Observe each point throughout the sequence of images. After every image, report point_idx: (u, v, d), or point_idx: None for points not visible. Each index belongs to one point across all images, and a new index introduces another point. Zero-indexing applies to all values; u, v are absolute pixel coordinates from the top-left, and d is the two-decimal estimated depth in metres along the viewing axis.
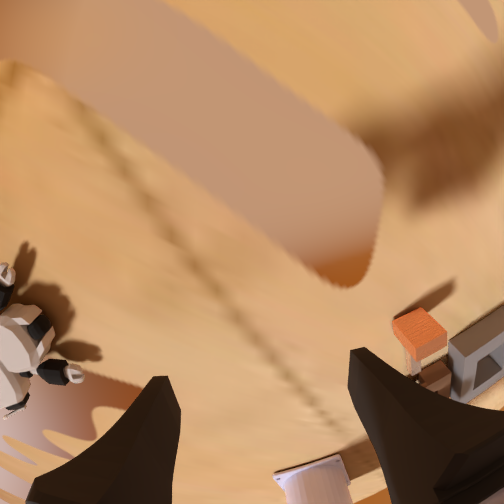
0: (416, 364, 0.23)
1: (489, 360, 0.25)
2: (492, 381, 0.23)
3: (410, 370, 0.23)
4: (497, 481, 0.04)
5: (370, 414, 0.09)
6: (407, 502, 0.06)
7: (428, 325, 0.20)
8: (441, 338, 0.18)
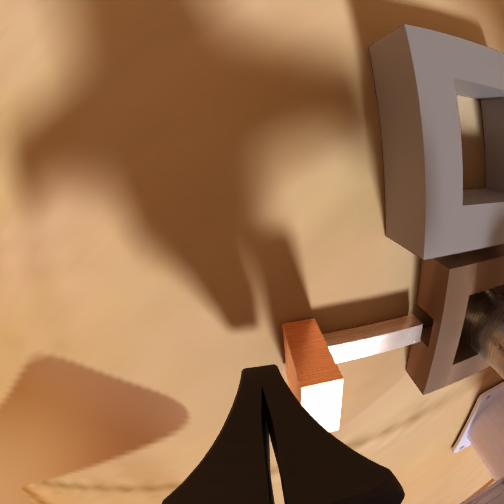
0: (399, 339, 0.12)
1: (491, 106, 0.10)
2: None
3: None
4: None
5: (271, 435, 0.09)
6: None
7: (293, 373, 0.11)
8: (312, 396, 0.09)
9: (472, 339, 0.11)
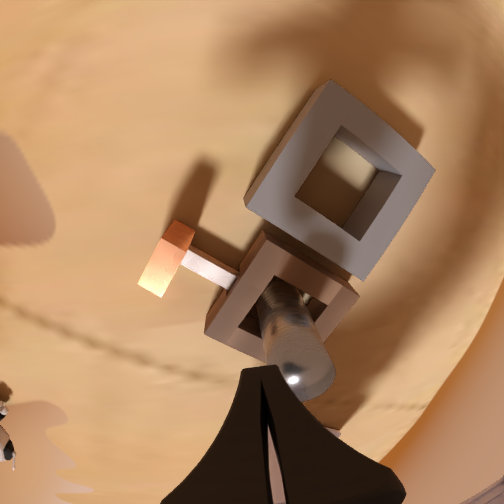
0: None
1: (381, 177, 0.18)
2: (398, 205, 0.16)
3: None
4: None
5: (272, 435, 0.09)
6: None
7: None
8: (163, 250, 0.14)
9: (261, 313, 0.18)
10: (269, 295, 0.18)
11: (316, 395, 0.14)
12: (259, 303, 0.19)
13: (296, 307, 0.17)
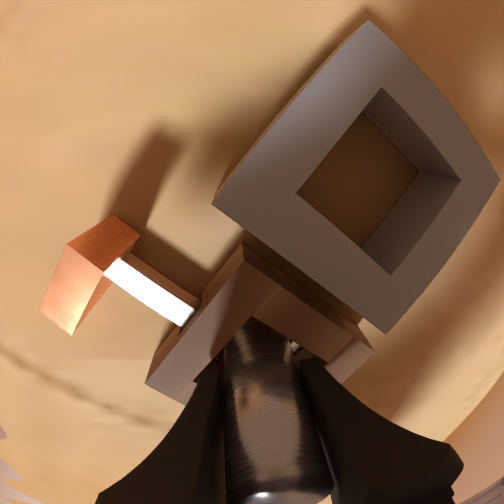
0: None
1: (423, 181, 0.11)
2: (451, 225, 0.10)
3: None
4: None
5: None
6: None
7: None
8: (70, 265, 0.08)
9: (227, 369, 0.11)
10: (242, 342, 0.12)
11: None
12: (227, 350, 0.12)
13: (281, 370, 0.10)
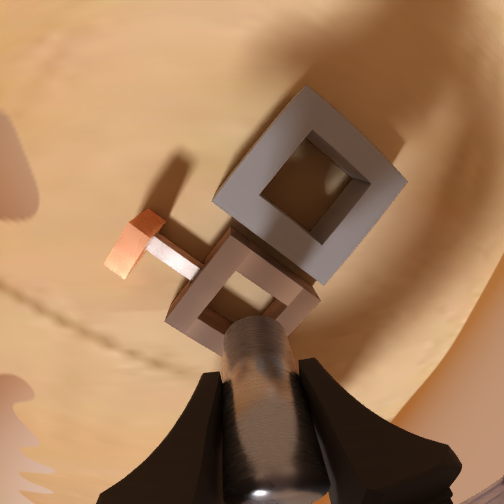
0: None
1: (352, 185, 0.18)
2: (365, 213, 0.17)
3: None
4: None
5: (315, 427, 0.09)
6: None
7: None
8: (129, 234, 0.15)
9: (225, 368, 0.11)
10: (241, 341, 0.12)
11: None
12: (226, 349, 0.12)
13: (280, 369, 0.10)
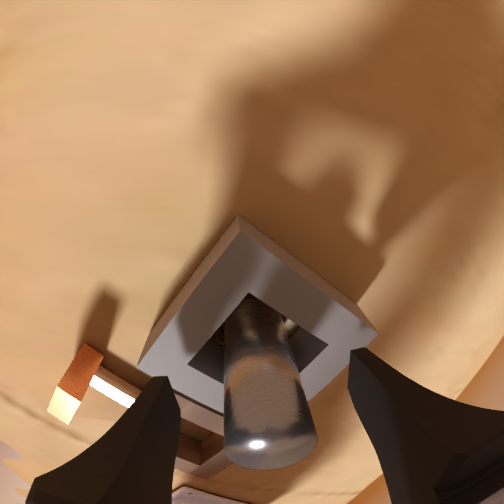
0: None
1: None
2: (318, 373, 0.14)
3: None
4: (497, 481, 0.04)
5: (370, 413, 0.09)
6: (407, 502, 0.06)
7: None
8: (61, 395, 0.12)
9: (228, 339, 0.13)
10: (242, 317, 0.14)
11: (284, 463, 0.09)
12: (228, 325, 0.14)
13: (276, 341, 0.12)
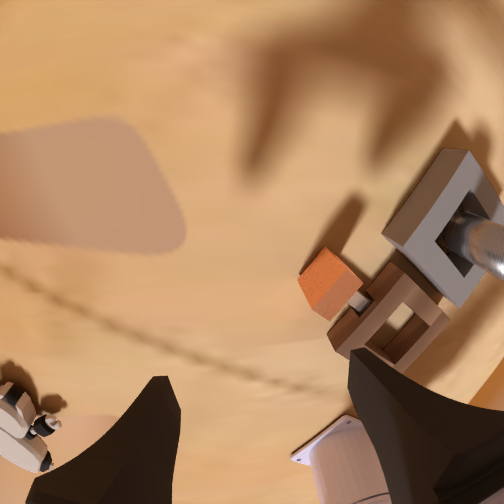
0: None
1: None
2: None
3: None
4: (497, 481, 0.04)
5: (370, 414, 0.09)
6: (407, 502, 0.06)
7: (328, 269, 0.17)
8: (344, 280, 0.16)
9: (454, 223, 0.17)
10: None
11: None
12: None
13: None
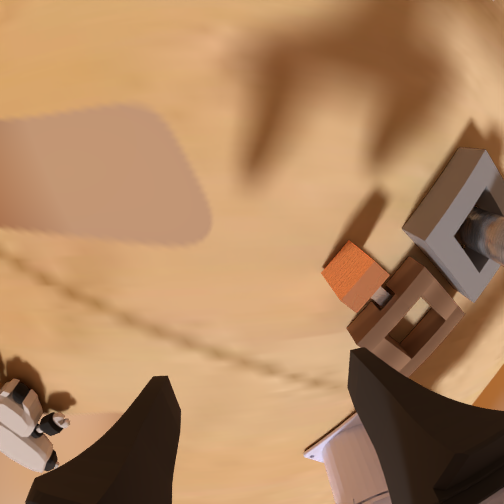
0: None
1: None
2: None
3: None
4: (497, 481, 0.04)
5: (370, 414, 0.09)
6: (407, 502, 0.06)
7: (355, 261, 0.17)
8: (372, 272, 0.16)
9: (471, 219, 0.17)
10: None
11: None
12: None
13: (498, 216, 0.16)
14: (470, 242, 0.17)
